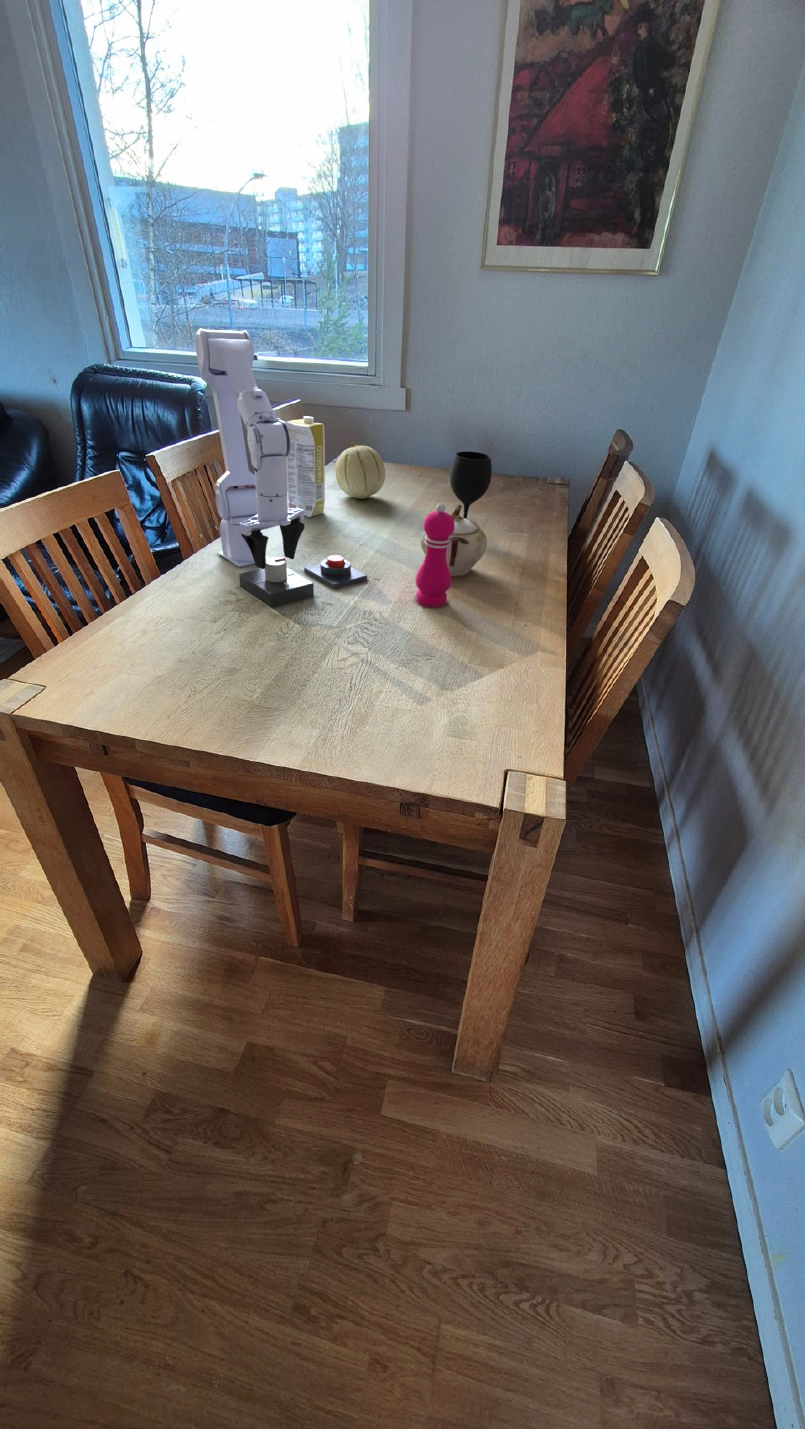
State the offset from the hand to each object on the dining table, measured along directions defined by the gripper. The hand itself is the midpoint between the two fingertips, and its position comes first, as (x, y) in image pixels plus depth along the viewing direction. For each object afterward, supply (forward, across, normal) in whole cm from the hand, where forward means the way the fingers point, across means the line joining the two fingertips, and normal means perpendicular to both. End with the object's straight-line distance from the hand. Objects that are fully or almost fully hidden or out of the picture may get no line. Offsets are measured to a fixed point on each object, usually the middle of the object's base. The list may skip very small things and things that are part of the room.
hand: (275, 562), depth 123 cm
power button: (+4, +15, -3) cm, 15 cm away
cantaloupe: (+6, +64, +34) cm, 72 cm away
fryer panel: (+6, 0, 0) cm, 6 cm away
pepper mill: (+7, +20, -25) cm, 33 cm away
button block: (+6, +15, -2) cm, 16 cm away
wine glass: (+6, +60, -6) cm, 60 cm away
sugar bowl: (+7, +38, -18) cm, 42 cm away
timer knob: (+3, 0, 0) cm, 3 cm away
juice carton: (+6, +41, +33) cm, 54 cm away
